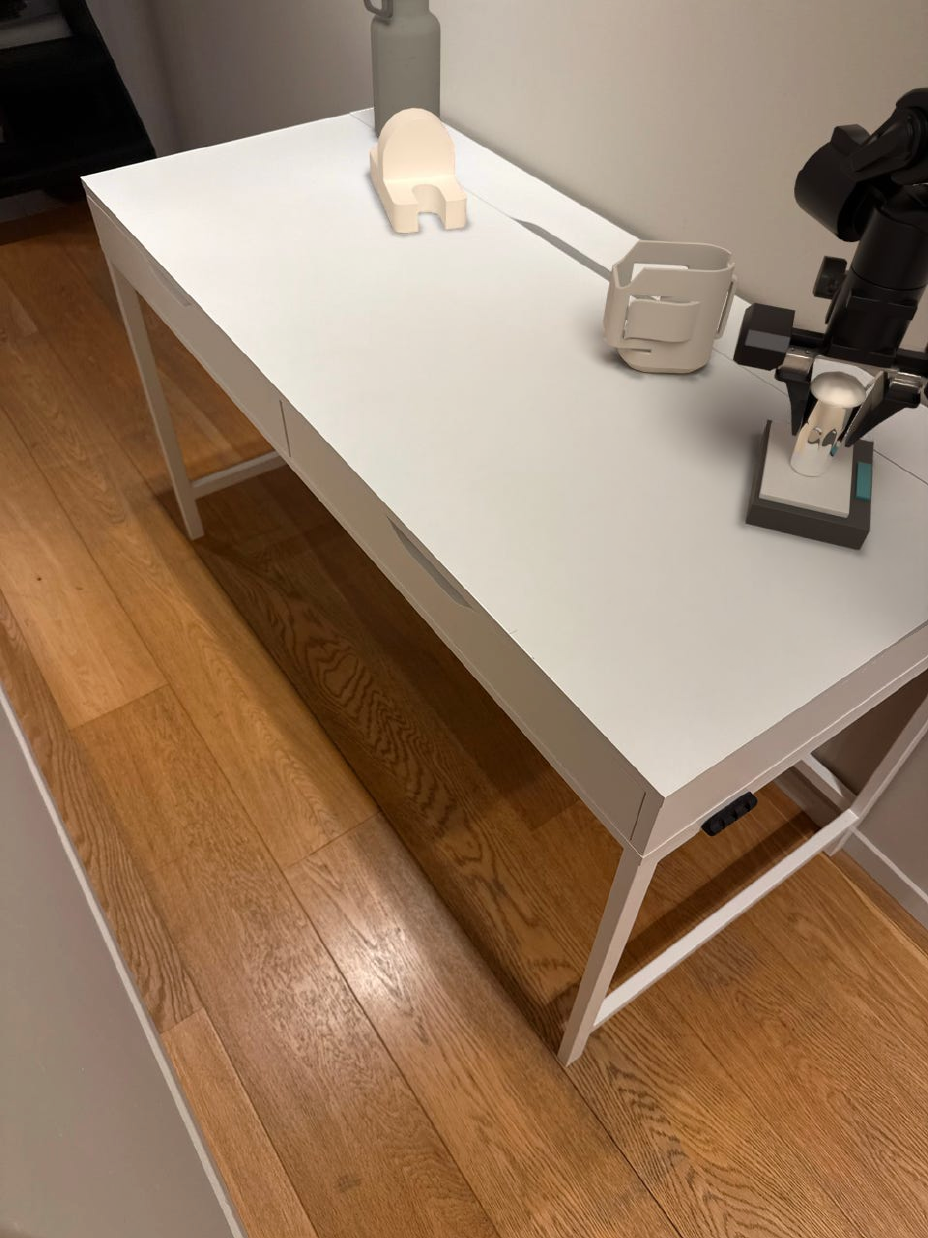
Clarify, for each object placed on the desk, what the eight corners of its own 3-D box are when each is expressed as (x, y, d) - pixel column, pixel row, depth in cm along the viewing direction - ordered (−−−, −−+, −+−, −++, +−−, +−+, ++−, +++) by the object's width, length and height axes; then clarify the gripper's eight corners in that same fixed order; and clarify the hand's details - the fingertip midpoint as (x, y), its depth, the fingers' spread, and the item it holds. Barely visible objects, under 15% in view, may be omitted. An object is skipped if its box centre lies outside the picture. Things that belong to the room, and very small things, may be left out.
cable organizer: (598, 343, 98) (615, 237, 89) (709, 349, 98) (738, 243, 89) (601, 378, 94) (620, 271, 84) (719, 384, 94) (750, 277, 84)
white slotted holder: (435, 168, 126) (436, 85, 118) (467, 227, 115) (470, 138, 107) (369, 174, 124) (365, 89, 116) (395, 233, 113) (393, 144, 105)
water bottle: (398, 153, 129) (392, -87, 108) (360, 131, 134) (347, -103, 113) (452, 137, 134) (457, -97, 112) (413, 116, 138) (411, -112, 117)
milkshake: (848, 482, 79) (892, 386, 71) (789, 481, 79) (827, 385, 71) (833, 450, 82) (874, 355, 74) (776, 449, 82) (812, 353, 74)
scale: (864, 461, 86) (876, 436, 84) (859, 550, 78) (872, 525, 75) (760, 438, 88) (769, 413, 85) (745, 523, 79) (754, 498, 77)
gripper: (1013, 245, 70) (928, 410, 82) (774, 205, 73) (726, 368, 85) (1025, 315, 63) (930, 484, 75) (760, 267, 66) (710, 435, 78)
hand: (820, 438), depth 78 cm, fingers closed on milkshake, 4 cm apart
